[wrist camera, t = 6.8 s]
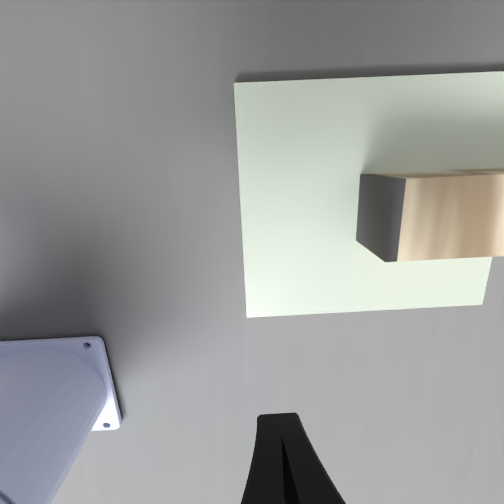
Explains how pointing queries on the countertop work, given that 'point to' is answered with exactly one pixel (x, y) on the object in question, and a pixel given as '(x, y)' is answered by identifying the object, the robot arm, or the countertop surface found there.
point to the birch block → (432, 214)
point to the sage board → (353, 185)
